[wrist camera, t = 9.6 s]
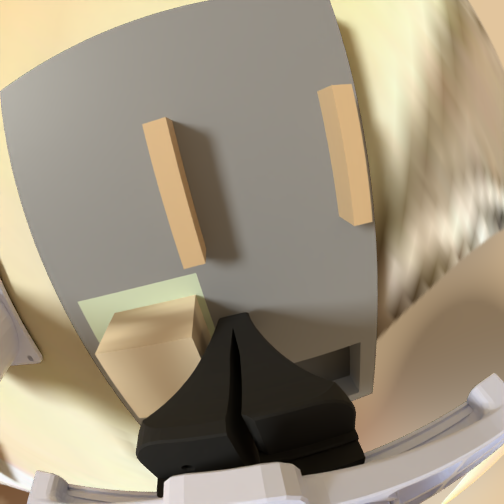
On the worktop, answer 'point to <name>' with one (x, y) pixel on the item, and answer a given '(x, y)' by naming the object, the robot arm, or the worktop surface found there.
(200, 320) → the birch block
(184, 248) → the board
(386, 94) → the worktop surface
